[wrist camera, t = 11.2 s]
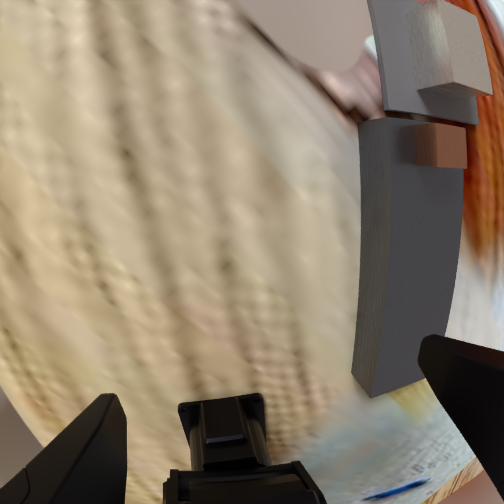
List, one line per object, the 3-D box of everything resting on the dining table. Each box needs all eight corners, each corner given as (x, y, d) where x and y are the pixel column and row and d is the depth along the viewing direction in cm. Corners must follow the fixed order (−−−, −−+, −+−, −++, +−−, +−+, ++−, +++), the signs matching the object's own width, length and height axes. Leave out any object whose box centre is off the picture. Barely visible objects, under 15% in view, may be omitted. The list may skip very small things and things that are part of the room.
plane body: (412, 353, 25) (448, 386, 19) (351, 372, 24) (382, 414, 18) (429, 129, 19) (482, 127, 14) (357, 122, 18) (409, 113, 13)
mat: (473, 125, 20) (478, 124, 19) (384, 110, 18) (388, 109, 18) (456, 21, 17) (460, 20, 16) (364, -11, 15) (368, -14, 15)
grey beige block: (456, 99, 18) (492, 94, 15) (416, 89, 18) (454, 81, 14) (443, 28, 17) (476, 16, 13) (403, 14, 16) (435, -4, 12)
